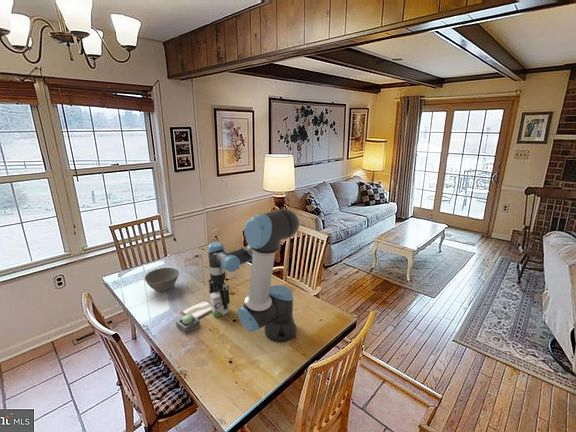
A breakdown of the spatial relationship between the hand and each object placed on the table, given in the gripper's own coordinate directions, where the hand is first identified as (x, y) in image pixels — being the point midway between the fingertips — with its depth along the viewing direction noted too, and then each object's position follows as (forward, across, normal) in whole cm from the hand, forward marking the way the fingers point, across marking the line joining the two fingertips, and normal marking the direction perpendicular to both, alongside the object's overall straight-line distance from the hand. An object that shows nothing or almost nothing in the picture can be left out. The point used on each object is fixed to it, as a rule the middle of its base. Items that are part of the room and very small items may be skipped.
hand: (220, 311), depth 158 cm
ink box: (+1, 0, 0) cm, 1 cm away
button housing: (+1, +4, +17) cm, 17 cm away
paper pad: (+1, +10, +6) cm, 12 cm away
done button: (-1, +4, +17) cm, 17 cm away
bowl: (+1, +45, +7) cm, 46 cm away
